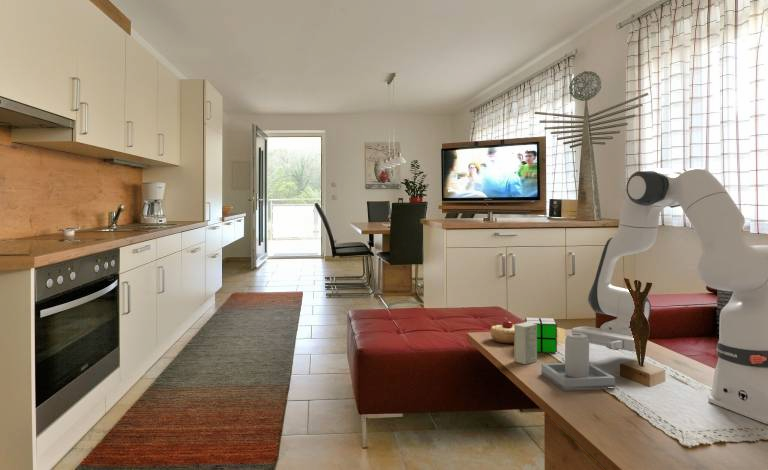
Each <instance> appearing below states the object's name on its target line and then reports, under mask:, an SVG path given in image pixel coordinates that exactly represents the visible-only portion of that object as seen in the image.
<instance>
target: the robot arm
mask: <svg viewBox="0 0 768 470" xmlns="http://www.w3.org/2000/svg"><path fill="white" fill-rule="evenodd" d="M625 188H626V193H627V194H626V195H625V197H624V200H623V203H622V206H621V210H620V215H619V222H618V228H617V230H616V233H615V234H614V236H613V237H610V238H608V240H607V241H606V243H605V245H604V247H603V250H602V253H601V256H600V260H599V263H598V265H597V266H598V267H597V270H596V274H595V277H594V281H593V283H592V285H591V288H590V290H589V293H588V296H587V302H588V305H589V306H590V308H591V309H592V310H593V312H594V313H597V314H602V315H609V316H612V317H616V318H615V319H612V320H610V321H607V322H604V323H603V324H602V325H600V328H598V327H593V326H588V325H587V326H585V325H584V326H577V327H573V328H572V329H571V331H570V333H582V334H586V335H588V337H587V338H588V339H589V344H593V345H597V346H602V347H605V348H607V349H609V350H613V351H618V350H621V351H622V350H623V351H628V352H633V353H634V352H635V353H637V352H636V349H635V343H634V338H633V335H632V331H631V328H630V321H631V317H632V315H633V313H634V309H635V305H634V301H633V298H632V296H631V294H630V292H629V290H628V289H629V288H626V287H625V288H624V287H620V286H615V285H613V284H612V282H611V281H612V277H613V274H614V270H615V268H616V265H617V262H618V260H620V258H621V257H625V256H629V255H635V254H639V253H642V252H646V251H647V250H649V249H650V248H652V247H653V246H654V244H655V243H656V241H657V238H658V232H659V223H660V215H661V212H662V211H663V209H665V208H667V207H669V208H677V207H681V209H682V210H683V213H684V214H685V215H686V218H687V219H688V222H689V223H690V224H691V226H692V228H693V229H694V231H695V233H696V236H697V237H698V239H699V243H700V246H701V247H700V248H701V256H700V258H699V260H698V263H697V273H698V276H699V279H700V280H701V281H702V283H704V285H706V286H707V287H708V288H710V289H715V290H719V291H723V292H732V295H731V297H730V298H729V301H728V302H727V304H725V305H724V306H723V307H722V308H721V311H720V312H719V331H718V332H719V333H718V334H719V336H718V337H719V339H718V341H717V344H716V356H717V357H718V359H717V363H716V366H715V368H714V374H713V380H712V387H711V388H712V389H711V392H710V395H709V396H708V402H709V403H710V404H714V405H716V406H719V407H721V408H723V409H727V410H729V411H732V412H735V413H737V414H740V415H742V416H745V417H747V418H749V419H752V420H755V421H757V422H760V423H763V424H765V425H768V245H767V244H758V245H750V244H749V243H747V242H746V240H745V237H744V235H743V232H742V231H743V230H742V229H743V227H744V225H745V222H746V220H745V219H746V218H745V216H744V215H743V213H742V212H741V210H740V208H739V207H738V206H737V204H736V203H735V201H734V200H733V198H732V196H731V195H730V193H729V192H728V191H727V189H726V188H725V187H724V185H723V184H722V183H721V182H720V181H719V180H718V178H716V176H714V175H713V174H712V173H711V172H710V171H709V170H708V169H706V168H703V167H693V168H689V169H674V168H665V167H664V168H652V169H651V168H646V169H640V170H638V171H635V172H634V173H632V174H631V175H630V176H629V178H628V180H627V183H626V187H625ZM651 311H652V305H651V301H650V300H649V297H648V296H647V295H646V298H645V300H644V303H643V312H644V315H645V317H646V318H647V320H648V321H649V320H650V317H651V313H652V312H651Z"/></svg>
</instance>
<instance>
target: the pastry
mask: <svg viewBox="0 0 768 470" xmlns="http://www.w3.org/2000/svg"><path fill="white" fill-rule="evenodd" d="M506 320H507V321H506ZM514 325H515V324H514V323H513V322H512V321H509V319H508V317H506V316H504V320H503V321H502V322H501V324H496V325H492V326H491V327H490V336H491V338H492V339H493V341H494V342H497V343H500V344H501V343H502V344H511V345H512V344H514Z"/></svg>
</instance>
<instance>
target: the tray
mask: <svg viewBox="0 0 768 470" xmlns="http://www.w3.org/2000/svg"><path fill="white" fill-rule="evenodd" d="M541 375H542V376H543V377H545V378H546V379H547V380H549V381H550V382H552V383H553V384H554V385H555V386H557V387H558V388H560V389H561V390H562V391H564V392H567V391H568V392H572V391H587V390H588V391H589V390H591V391H592V390H593V391H594V390H605V389H604V388H608V387H615V388H616V377H615V376H613V375H612V374H610V373H608V372H606V371H605V370H603V369H601V368H599V367H597V366H596V365H594V364H592V363H591V362H589V376H588V377H582V378H570V377H568V375H566V374H565V362H557V363H555V362H554V363H542V364H541Z"/></svg>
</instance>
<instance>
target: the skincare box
mask: <svg viewBox="0 0 768 470" xmlns="http://www.w3.org/2000/svg"><path fill="white" fill-rule="evenodd" d="M513 325H514V343H513V346H514V349H513V353H514V356H513V357H514V358H513V359H514V362H516V363H519V364H522V365H528V364H532V363H535V362H537V361H538V359H537V358H538V352H537V324H533V323H529V322H525V321H524V322H519V323H516V324H513Z"/></svg>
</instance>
